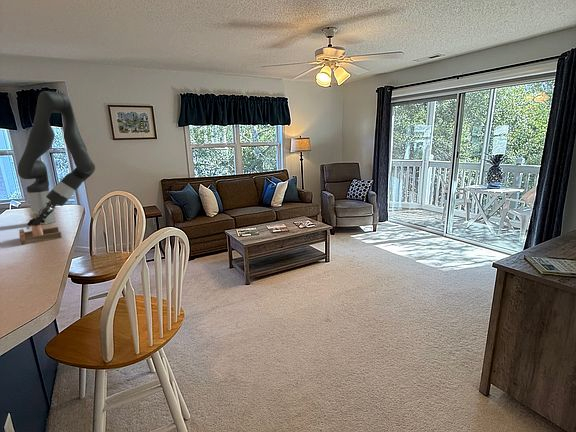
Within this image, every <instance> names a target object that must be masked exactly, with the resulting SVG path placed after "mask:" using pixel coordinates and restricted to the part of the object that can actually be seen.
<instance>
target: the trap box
mask: <svg viewBox="0 0 576 432" xmlns="http://www.w3.org/2000/svg"><path fill="white" fill-rule="evenodd" d="M18 230H19V233H18V235H19V240H20V244H21V245H22V246H24V245H29V244H34V243H40V242H45V241H51V240H56V239H61V238H62V237H63V236H62V233H61V231H59V227H58V226H56V227H55V226H54V227H49V228H42V230H43V235H38V236H33V233H32V230H30V231H25V230H24V229H23V228H22V229H18Z"/></svg>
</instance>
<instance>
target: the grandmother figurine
mask: <svg viewBox="0 0 576 432" xmlns="http://www.w3.org/2000/svg"><path fill="white" fill-rule="evenodd" d="M38 215H39V213H38V212H36V211H32V210H31V211H30V213H29V216H30V217H31V218H32V219H30V220H29V221H28V222H27V224H26V230H29V229H30V228H31V231H32V233H33V236H38V235H43V230H42V229H43V227H42V225H45V226H47V225H48V224H47V223H46V222H45V220H42V221H41V222H40V223H39V224H38V226H35V225H33V224H32V222H33V221H34V220H35V219H36V218H37V217H38ZM41 223H43V224H41Z"/></svg>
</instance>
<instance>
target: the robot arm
mask: <svg viewBox="0 0 576 432" xmlns="http://www.w3.org/2000/svg"><path fill="white" fill-rule="evenodd" d="M36 103H37V104H36V108H35V114H34V119H33V123H32V126H31V129H30V132H29V135H28V139H27V142H26V146H25V149H24V152H23V154H22V156H21V157H20V160H19V162H18V164H17V174H18V176H19V177H20V178H21V179H23V180H34V179H35V181H33V183H31V184H30V185H28V186H26V193H27V196H28V200H29V204H30V210H31V212H32V211H36V212H38V213H39V215H38V217H37V218H36V219H35V220H34V221H33V222H32V224H33V225H35V226H38V224H39V223H40V222H41V221H42V220H45V222H46V223H47V225H48V224H52V223H55V222H56V221H57V220H56V216H55V209H56V206H57V205H58V206H60V207H63V206H64V205H65V204H66V203H67V202H68V201H69V200H70V198H71V197H72V196H73V195H74V193H75V192H76V191H77V190H78V189H79V188H80V186H81V185H82V184H84V183H83V182H85V181H86V180H87V179H89V177H91V176H92V175H93V173H94V172H95V170H96V165H95V164H94V162H93V160H92V159H91V157H90V154H89V152H88V150H87V147H86V145H85V142H84V139H83V138H82V136H81V134H80V131H79V127H78V123H77V119H76V115H75V113H74V109H73V106H72V102H71V100H70V98H69V97H68V95H67V94H66V93H64V92H59V91H52V90H44V91H41V92H40V93H39V95H38V97H37V101H36ZM52 113H55V114H61V115H62V117H63V119H64V132H63V139H64V140H63V141H64V143H65V145H66V146H67V149H68V152H69V153H70V154H71V158H72V160H73V163H74V165H75V168H74V169H73V170H72V171H71V172H68V173H66V175H65V176H64V177H63V178H62V179H61V180H60V181H59V182H58V183H57V184H56V185H55V186H54V187H53V188H52V189H51V190H50V181H49V175H48V169H47V167H46V166H47V165H46V164H45V163H44V161H42V160H38V159H39V158H40V157H41V156H43V155H45V154H46V153H47V152H48V151H49V150H50V149H51V147H52V145H53V142H54V140H55V131H54V129H53V128H52V125H51V123H50V118H51V115H52ZM41 225H44V224H43V223H41Z"/></svg>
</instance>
